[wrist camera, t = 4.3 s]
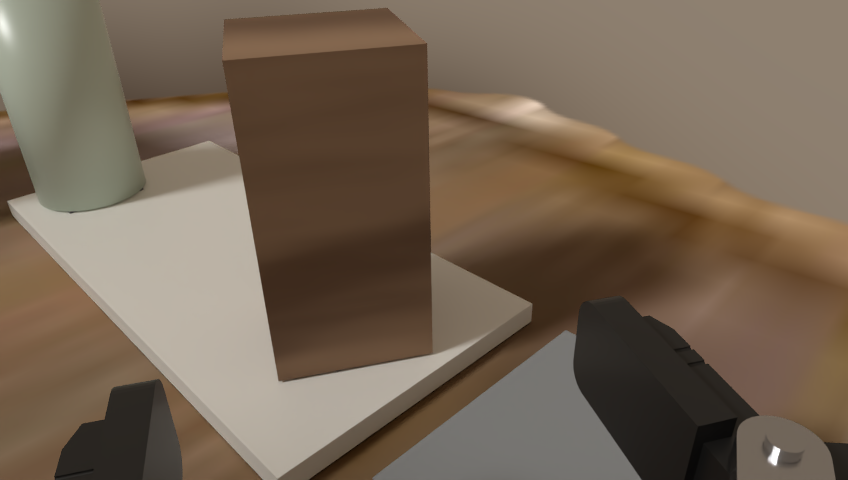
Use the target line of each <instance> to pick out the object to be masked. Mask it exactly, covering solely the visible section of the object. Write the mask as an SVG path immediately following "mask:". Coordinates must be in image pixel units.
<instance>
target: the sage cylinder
mask: <svg viewBox="0 0 848 480" xmlns="http://www.w3.org/2000/svg"><path fill="white" fill-rule="evenodd" d="M0 93H1V96H2V99H3V101H4V104H5V107H6V110H7V113H8V116H9V118H10V121H11V124H12V127H13V130H14V133H15V135H16V138H17V141H18V144H19V147H20V150H21V152H22V155H23V158H24V161H25V164H26V166H27V169H28V172H29V175H30V178H31V181H32V183H33V186H34V189H35V192H36V195H37V198H38V200H39V203H40V204H41V205H42V206H43V207H45V208H47V209H50V210H55V211H67V212H71V211H84V210H91V209H96V208H101V207H105V206H108V205H112V204H115V203H118V202H120V201H123V200H125V199H127V198H129V197H131V196H133V195H134V194H136V193H137V192H139V191H140V190H141V189H142V188H143V187H144V185H145V183H146V179H145V175H144V171H143V167H142V163H141V159H140V156H139V152H138V148H137V144H136V140H135V136H134V132H133V128H132V124H131V121H130V117H129V113H128V109H127V105H126V101H125V97H124V94H123V90H122V86H121V82H120V78H119V74H118V70H117V66H116V62H115V59H114V54H113V51H112V47H111V43H110V39H109V35H108V31H107V27H106V23H105V20H104V16H103V12H102V8H101V4H100V0H0Z"/></svg>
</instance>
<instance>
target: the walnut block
mask: <svg viewBox="0 0 848 480" xmlns="http://www.w3.org/2000/svg"><path fill="white" fill-rule="evenodd" d="M222 62H223V67H224V73H225V79H226V84H227V90H228V96H229V102H230V107H231V113H232V119H233V124H234V130H235V136H236V141H237V147H238V153H239V159H240V164H241V170H242V176H243V181H244V187H245V193H246V199H247V204H248V210H249V216H250V221H251V227H252V233H253V239H254V244H255V250H256V256H257V261H258V267H259V273H260V278H261V284H262V290H263V296H264V301H265V307H266V313H267V318H268V324H269V330H270V336H271V341H272V347H273V353H274V358H275V364H276V370H277V376H278V381H283V380H288V379H293V378H299V377H304V376H310V375H315V374H321V373H326V372H331V371H337V370H342V369H348V368H353V367H359V366H364V365H369V364H375V363H380V362H386V361H391V360H397V359H402V358H407V357H413V356H418V355H424V354H429V353H433V340H432V286H431V231H430V177H429V123H428V74H427V73H428V69H427V43H426V42H425V41H424V40H422V39H421V38H420V37H419V36H418V35H417V34H416V33H415V32H413V31H412V30H411V29H410V28H409V27H408V26H407V25H406V24H404V23H403V22H402V21H401V20H400V19H399V18H398V17H397V16H395V15H394V14H393V13H392V12H391V11H390V10H389V9H388V8H380V9H367V10H351V11H339V12H338V11H337V12H323V13H309V14H295V15H280V16H266V17H253V18H239V19H225V20H224V35H223V58H222Z"/></svg>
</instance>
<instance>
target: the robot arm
mask: <svg viewBox="0 0 848 480" xmlns="http://www.w3.org/2000/svg"><path fill="white" fill-rule="evenodd" d="M573 369H574V375H575V379H576V382H577V385H578V387H579V389H580V391H581V393H582V394H583V396H584V397H585V399H586V400H587V402H588V403H589V405H590V406H591V407H592V409H593V410H594V412H595V413H596V415H597V416H598V418H599V419H600V420H601V422H602V423H603V425H604V426H605V428H606V429H607V431H608V432H609V433H610V435H611V436H612V438H613V439H614V441H615V442H616V444H617V445H618V446H619V448H620V449H621V451H622V452H623V454H624V455H625V456H626V458H627V459H628V461H629V462H630V464H631V465H632V467H633V468H634V469H635V471H636V472H637V474H638V475H639V477H640V478H641V480H848V444H846V443H826V442H823V441H822V440H821V439H820V438H819V437H818V436H817V435H815V434H814V433H813V432H811V431H810V430H808V429H807V428H805V427H804V426H802V425H800V424H798V423H795V422H793V421H790V420H788V419H784V418H781V417H775V416H759V415H758V414H757V413H756V412H755V411H754V410H753V409H752V408H751V407H750V406H749V405H748V404H747V403H746V402H745V401H744V400H743V399H742V398H741V397H740V396H739V395H738V394H737V393H736V392H735V391H734V390H733V389H732V388H731V387H730V386H729V384H728V383H727V382H726V381H725V380H724V379H723V378H722V377H721V376H720V375H719V374H718V373H717V372H716V371H715V370H714V369H713V368H712V367H711V366H710V365H709V364H705V363H704V359H703V358H702V357H701V356H700V355H699V354H698V353H697V352H696V351H695V350H694V349H693V350H691V348H690V345H689V344H688V343H687V342H686V341H685V340H684V339H683V338H682V337H681V336H680V335H679V334H678V333H677V332H676V331H675V330H674V329H673V328H671V327H669V326H667V325H665V324H663V323H662V322H660V321H658V320H656V319H654V318H653V317H651V316H645V317H642V316H641V315H640V314H639V313H638V312H637V311H636V310H635V309H634V308H633V307H632V306H631V305H630V303H629V302H628V301H627V300H626V299H625V298H623V297H621V296H614V297H608V298H603V299H597V300H591V301H586V302H583V303H582V305H581V307H580V310H579V317H578V325H577V334H576V342H575V350H574V358H573ZM54 477H55V480H182V458H181V451H180V445H179V441H178V437H177V434H176V430H175V427H174V423H173V420H172V416H171V412H170V409H169V405H168V402H167V398H166V395H165V391H164V388H163V385H162V383H161V381H160V380H159V379H157V380H151V381H146V382H140V383H134V384H129V385H123V386H118V387H114V388H113V389H112V391H111V393H110V398H109V402H108V407H107V411H106V416H105V420H100V421H95V422H89V423H84V424H82V425H81V426H80V427H79V429H78V430H77V431H76V432H75V434H74V435H73V436H72V437H71V439H70V440H69V441H68V443H67V444H66V445H65V446H64V448H63V449H62V451H61V455H60V459H59V462H58V466H57V469H56V473H55V476H54Z"/></svg>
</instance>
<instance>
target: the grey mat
mask: <svg viewBox="0 0 848 480" xmlns="http://www.w3.org/2000/svg"><path fill="white" fill-rule="evenodd" d="M575 342H576V335H574V334H572V333H570V332H569V331H567V330H565V331H564V332H563V333H561V334H560V335H559V336H557V337H556V338H555V339H554V340H552V341H551V342H550V343H548V344H547V345H546V346H544V347H543V348H542V349H540V350H539V351H538V352H537V353H535V354H534V355H533V356H531V357H530V358H529V359H527V360H526V361H525V362H523V363H522V364H521V365H519V366H518V367H517V368H516V369H514V370H513V371H512V372H510V373H509V374H508V375H506V376H505V377H504V378H502V379H501V380H500V381H499V382H497V383H496V384H495V385H493V386H492V387H491V388H489V389H488V390H487V391H485V392H484V393H483V394H482V395H480V396H479V397H478V398H476V399H475V400H474V401H472V402H471V403H470V404H468V405H467V406H466V407H464V408H463V409H462V410H461V411H459V412H458V413H457V414H455V415H454V416H453V417H451V418H450V419H449V420H447V421H446V422H445V423H444V424H442V425H441V426H440V427H438V428H437V429H436V430H434V431H433V432H432V433H430V434H429V435H428V436H427V437H425V438H424V439H423V440H421V441H420V442H419V443H417V444H416V445H415V446H413V447H412V448H411V449H409V450H408V451H407V452H406V453H404V454H403V455H402V456H400V457H399V458H398V459H396V460H395V461H394V462H392V463H391V464H390V465H389V466H387V467H386V468H385V469H383V470H382V471H381V472H379V473H378V474H377V475H375V476H374V477H373V480H641V478H640V477H639V475H638V474H637V472H636V471H635V469H634V468H633V467H632V465H631V464H630V462H629V461H628V459H627V458H626V456H625V455H624V454H623V452H622V451H621V449H620V448H619V446H618V445H617V444H616V442H615V441H614V439H613V438H612V436H611V435H610V433H609V432H608V431H607V429H606V428H605V426H604V425H603V423H602V422H601V420H600V419H599V418H598V416H597V415H596V413H595V412H594V410H593V409H592V407H591V406H590V405H589V403H588V402H587V400H586V399H585V397H584V396H583V394H582V393H581V391H580V389H579V387H578V385H577V382H576V379H575V375H574V369H573V358H574V350H575Z"/></svg>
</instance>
